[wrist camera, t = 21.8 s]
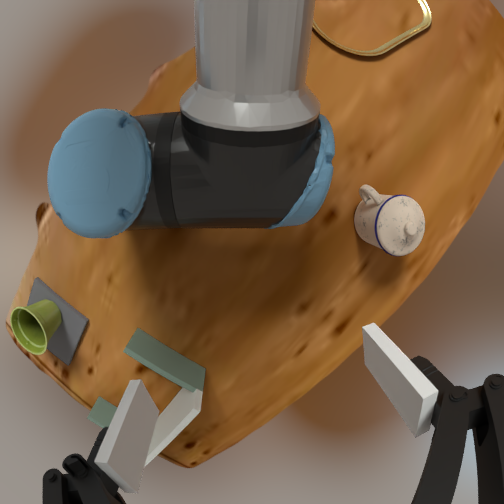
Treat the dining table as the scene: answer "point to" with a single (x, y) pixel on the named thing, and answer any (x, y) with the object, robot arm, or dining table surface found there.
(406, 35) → the brass wire loop
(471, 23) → the dining table surface
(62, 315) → the slate mat
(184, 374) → the grey-green angled panels
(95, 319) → the dining table surface
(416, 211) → the teacup with lid
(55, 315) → the plant pot
